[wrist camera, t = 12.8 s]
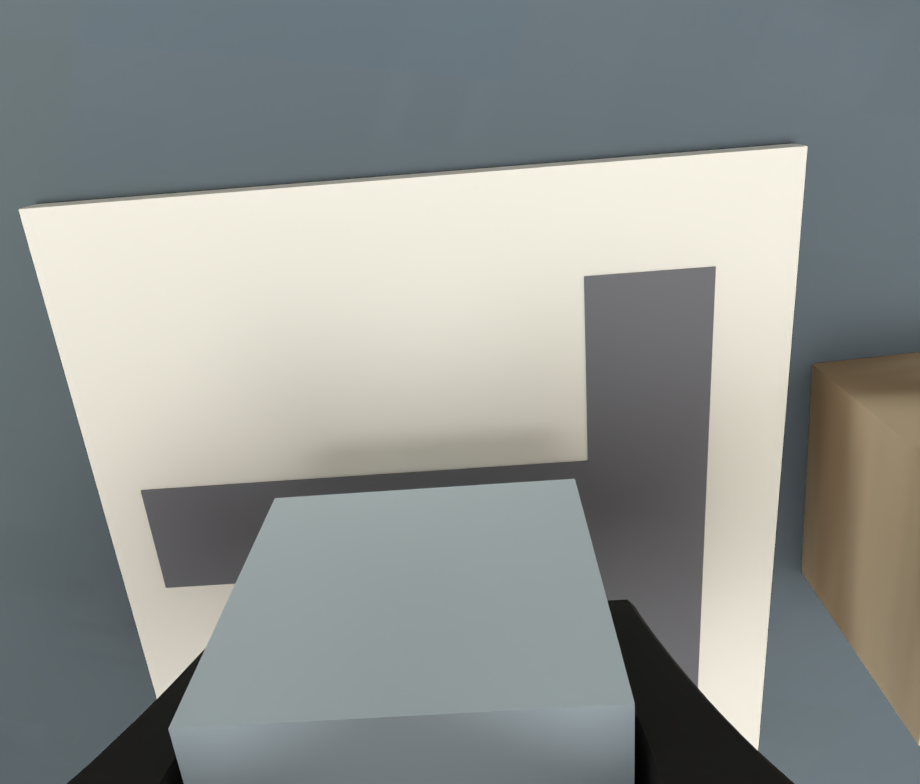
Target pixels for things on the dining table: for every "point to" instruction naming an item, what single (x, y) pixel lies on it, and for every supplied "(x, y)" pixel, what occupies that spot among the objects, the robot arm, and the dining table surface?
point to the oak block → (868, 515)
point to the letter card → (445, 372)
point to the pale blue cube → (414, 647)
